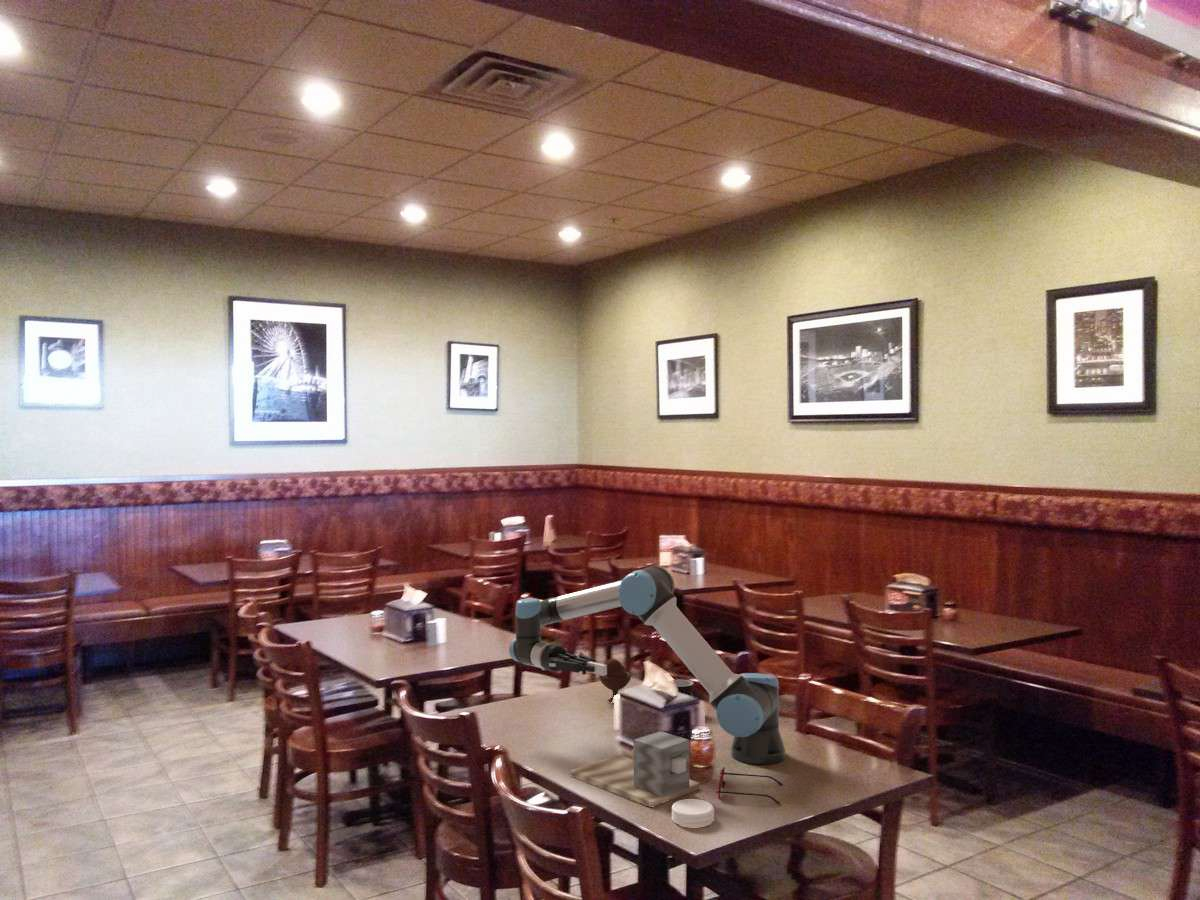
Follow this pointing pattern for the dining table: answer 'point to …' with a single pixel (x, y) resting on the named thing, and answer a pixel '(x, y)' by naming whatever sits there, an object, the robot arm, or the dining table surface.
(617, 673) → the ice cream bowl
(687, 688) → the coffee mug
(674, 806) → the white jar lid
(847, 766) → the dining table surface
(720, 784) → the glasses
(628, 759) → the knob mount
